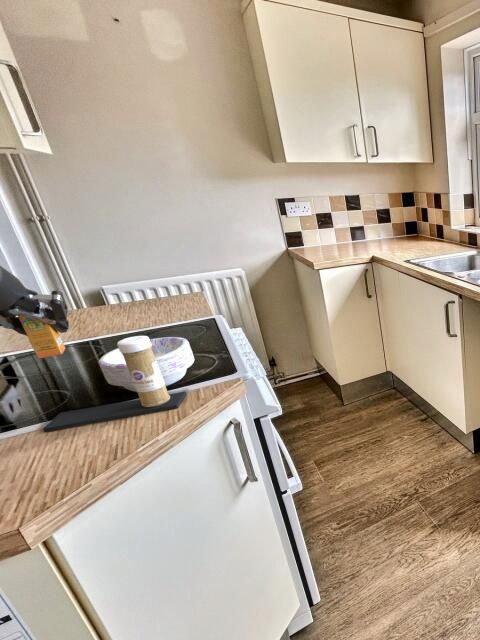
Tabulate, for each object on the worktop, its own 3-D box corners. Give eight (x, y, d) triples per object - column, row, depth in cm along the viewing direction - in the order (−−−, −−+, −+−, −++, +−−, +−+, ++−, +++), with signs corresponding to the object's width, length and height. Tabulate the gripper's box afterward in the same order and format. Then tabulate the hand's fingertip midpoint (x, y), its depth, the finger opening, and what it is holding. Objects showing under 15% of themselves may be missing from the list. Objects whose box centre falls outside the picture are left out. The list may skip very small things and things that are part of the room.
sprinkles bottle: (138, 410, 80) (111, 345, 75) (147, 399, 84) (122, 337, 79) (167, 405, 82) (142, 341, 77) (174, 394, 86) (151, 333, 81)
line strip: (44, 432, 75) (42, 428, 75) (61, 416, 80) (60, 412, 80) (178, 408, 82) (176, 404, 82) (186, 394, 87) (185, 391, 87)
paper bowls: (98, 405, 84) (81, 369, 81) (129, 374, 97) (116, 342, 94) (188, 390, 89) (176, 356, 86) (206, 362, 102) (196, 332, 99)
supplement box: (36, 359, 73) (9, 304, 70) (41, 353, 76) (16, 300, 72) (62, 354, 75) (38, 300, 71) (67, 349, 78) (43, 296, 74)
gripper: (33, 251, 65) (99, 306, 80) (-100, 260, 60) (-2, 317, 75) (27, 293, 62) (97, 342, 77) (-112, 306, 57) (-8, 355, 72)
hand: (48, 329), depth 76 cm, fingers closed on supplement box, 3 cm apart
